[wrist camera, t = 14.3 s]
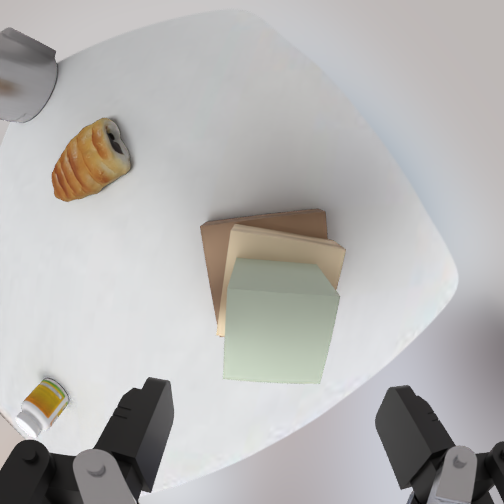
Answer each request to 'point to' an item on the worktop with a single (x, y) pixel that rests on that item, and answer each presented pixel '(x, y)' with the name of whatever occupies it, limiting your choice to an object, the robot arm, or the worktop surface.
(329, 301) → the sage block
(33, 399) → the supplement bottle
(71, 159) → the pastry
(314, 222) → the block bottom
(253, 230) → the block top
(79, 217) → the worktop surface
